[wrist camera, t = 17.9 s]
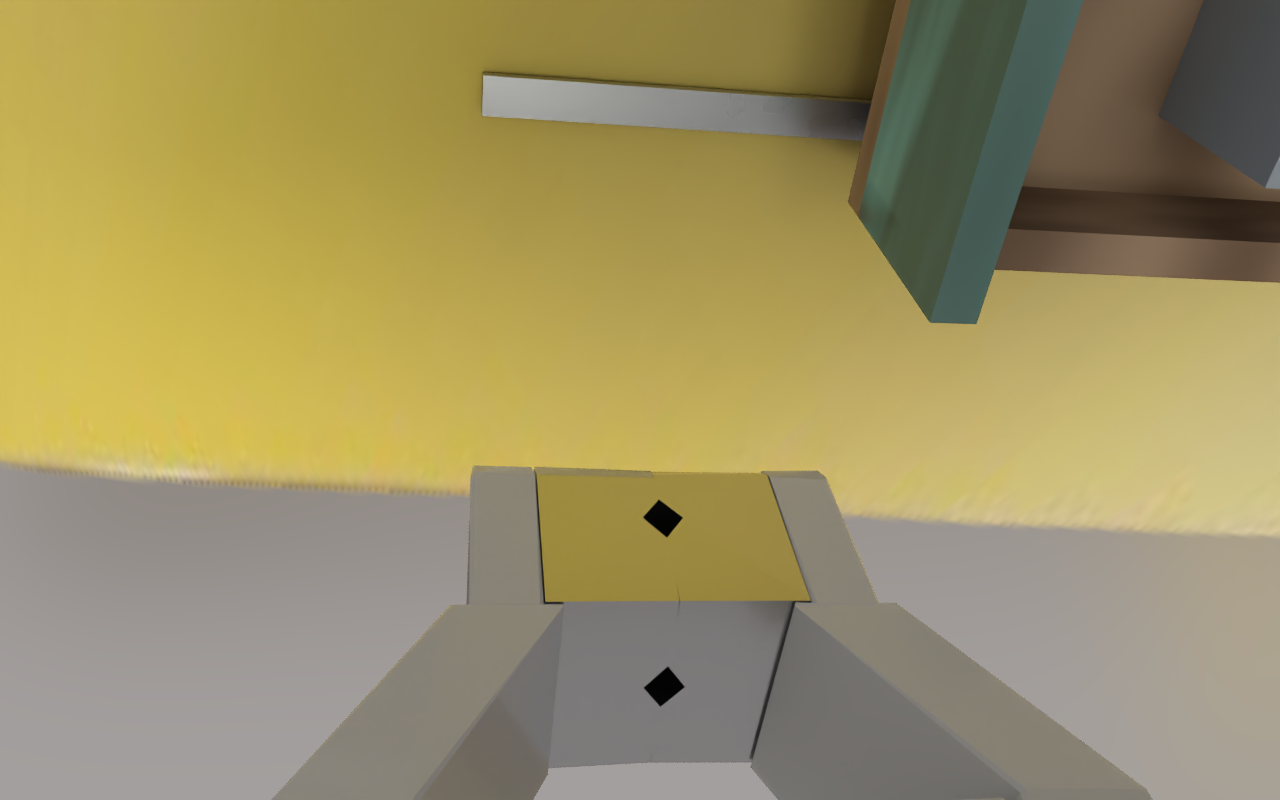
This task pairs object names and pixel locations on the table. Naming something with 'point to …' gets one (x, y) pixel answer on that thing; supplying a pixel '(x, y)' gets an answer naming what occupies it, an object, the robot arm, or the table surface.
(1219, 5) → the block
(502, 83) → the rails
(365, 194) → the table surface
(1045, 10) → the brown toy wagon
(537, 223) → the table surface
